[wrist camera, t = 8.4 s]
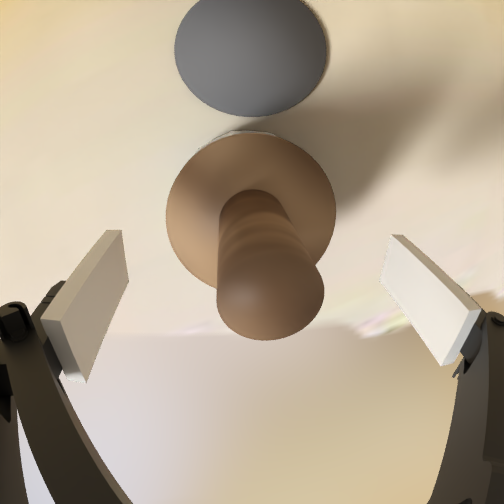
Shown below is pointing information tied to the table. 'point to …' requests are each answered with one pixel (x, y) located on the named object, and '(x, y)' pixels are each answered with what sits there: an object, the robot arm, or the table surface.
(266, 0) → the mat
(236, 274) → the lid
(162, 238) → the table surface
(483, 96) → the table surface
